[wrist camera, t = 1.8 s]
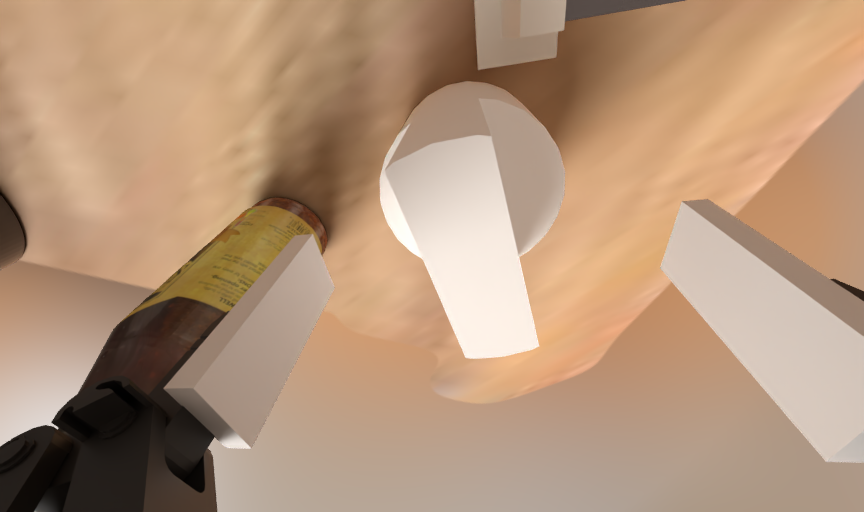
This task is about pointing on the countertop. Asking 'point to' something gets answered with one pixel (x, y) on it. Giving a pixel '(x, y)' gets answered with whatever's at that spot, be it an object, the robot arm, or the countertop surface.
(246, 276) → the sauce bottle
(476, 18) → the wire posts
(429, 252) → the base with upright slab
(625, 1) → the bent wire
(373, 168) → the countertop surface
